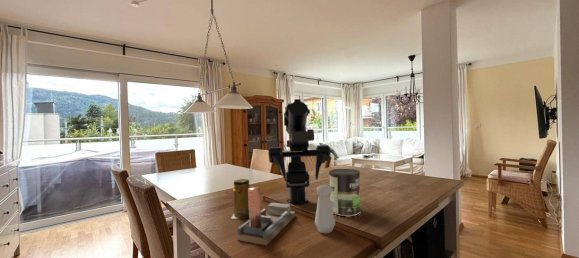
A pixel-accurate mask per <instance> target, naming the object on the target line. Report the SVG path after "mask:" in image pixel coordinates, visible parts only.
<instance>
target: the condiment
mask: <svg viewBox="0 0 579 258" xmlns="http://www.w3.org/2000/svg"><path fill="white" fill-rule="evenodd" d="M248 188H250V179H245V178H240V179H236V180H234V181H233V189H232V195H233V196H232V197H233V198H232V199H233V200H232V201H233V214H232V215H231V217H230V219H232V220H233V219H245V218H246V219H249V201H248Z"/></svg>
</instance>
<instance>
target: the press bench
mask: <svg viewBox="0 0 579 258" xmlns="http://www.w3.org/2000/svg"><path fill="white" fill-rule="evenodd" d="M266 210H267V211H266ZM261 215H263V216H270V217H272V222H273V224H271V225H270V226H269V227H268V228H267V229H266V230H265V231H263V236H258V235H252V234H246V233H243V226H244V225H245V224H246V223H248V222H249V219H248V220H246V221H245V222H244V223H243V224H241V225H240V226H238V227H237V235H236V236H237V237H236V238H237V239H236V240H237V241H242V242H248V243H252V244H258V245H264V246H267V245H268V244H270V243H271V242H272V241H273V239H274V238H275V237H276V236H278V234H279V233H280V232H281V231H282V230H283V229H284V228H285V227H286V226H287V225H288V224H289V223H290V222H291V221H292V220H293V219H294V218H295V217H296V211H295V210H294V211H293V210H291V204H288V203H277V202H270V203H269V204H268V205H267V208H263V209H261Z"/></svg>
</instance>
